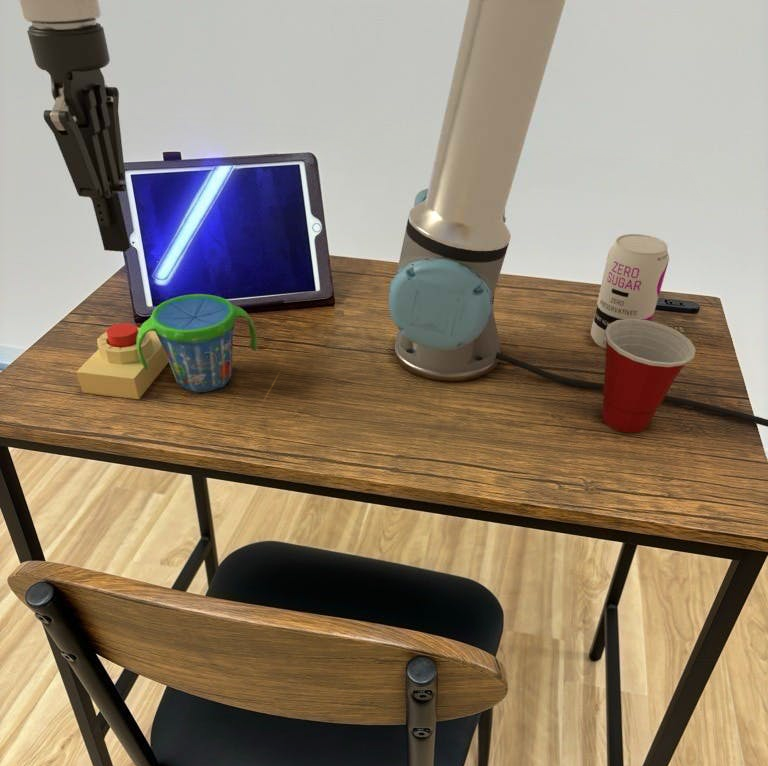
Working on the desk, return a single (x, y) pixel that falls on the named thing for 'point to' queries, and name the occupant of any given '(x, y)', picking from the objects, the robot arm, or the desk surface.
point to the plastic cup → (640, 370)
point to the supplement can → (630, 282)
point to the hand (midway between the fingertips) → (117, 248)
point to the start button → (122, 335)
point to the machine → (122, 368)
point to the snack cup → (197, 339)
